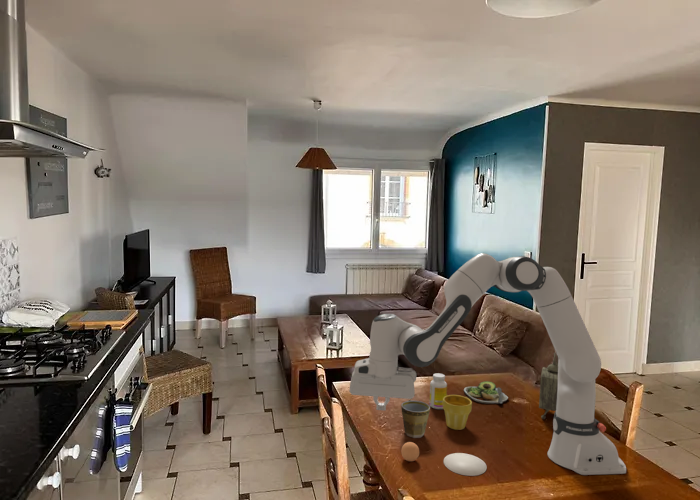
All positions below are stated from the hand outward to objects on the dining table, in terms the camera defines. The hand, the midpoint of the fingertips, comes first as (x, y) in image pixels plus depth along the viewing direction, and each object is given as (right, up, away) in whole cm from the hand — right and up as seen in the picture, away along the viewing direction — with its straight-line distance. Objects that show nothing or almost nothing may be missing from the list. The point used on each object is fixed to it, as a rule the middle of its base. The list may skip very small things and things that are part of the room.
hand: (381, 409), depth 149 cm
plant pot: (+29, -15, +26) cm, 42 cm away
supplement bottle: (+26, -13, +43) cm, 52 cm away
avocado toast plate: (+49, -13, +56) cm, 76 cm away
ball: (+9, -13, 0) cm, 16 cm away
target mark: (+26, -17, -1) cm, 31 cm away
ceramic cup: (+13, -15, +20) cm, 28 cm away
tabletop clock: (+69, -15, +38) cm, 80 cm away
